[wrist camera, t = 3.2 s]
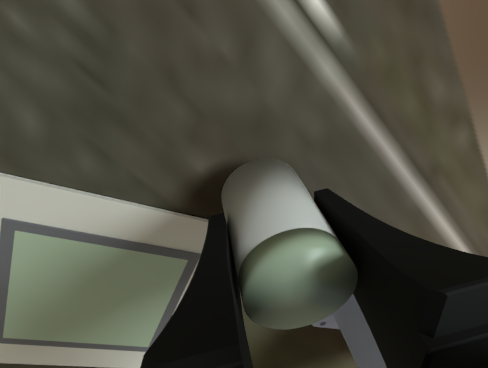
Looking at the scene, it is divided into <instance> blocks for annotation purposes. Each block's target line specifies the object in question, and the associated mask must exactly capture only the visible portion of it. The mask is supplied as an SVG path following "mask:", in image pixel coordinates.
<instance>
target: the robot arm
mask: <svg viewBox="0 0 488 368" xmlns="http://www.w3.org/2000/svg"><path fill="white" fill-rule="evenodd" d="M314 202H315V203H316V205H317V206H318V208H319V209H320V211H321V213H322V214H323V216H324V217H325V219H326V220H327V222H328V224H329V225H330V227H331V228H332V230H333V231H334V233H335V234H336V236H337V238H338V239H339V241H340V242H341V244H342V245H343V247H344V249H345V250H346V252H347V253H348V255H349V256H350V258H351V260H352V261H353V263H354V264H355V266H356V269H357V272H358V281H357V285H356V288H355V290H354V292H353V294H352V295H351V297H350V298H349V299H348V301H347V302H346V303H345V304H344V305H343V306H342V307H341V308H340V309H338V310H337V311H336V312H334V313H333V314H331V315H330V316H328V317H326V318H325V319H323V320H321V321H318V322H316V323H313V324H312V326H314V327H323V328H332V329H340V331H341V333H342V335H343V337H344V339H345V341H346V343H347V345H348V348H349V350H350V352H351V354H352V356H353V358H354V360H355V362H356V364H357V366H358V368H488V257H484V256H479V255H475V254H470V253H466V252H462V251H459V250H455V249H451V248H448V247H445V246H441V245H438V244H435V243H432V242H429V241H427V240H424V239H421V238H418V237H416V236H413V235H410V234H408V233H406V232H403V231H401V230H399V229H397V228H394V227H392V226H390V225H388V224H386V223H384V222H382V221H380V220H378V219H376V218H374V217H373V216H371V215H369V214H367V213H365V212H364V211H362V210H360V209H359V208H357V207H355V206H354V205H352V204H351V203H349V202H348V201H346V200H344V199H343V198H341V197H340V196H338V195H337V194H335V193H334V192H332V191H331V190H329V189H323V190H319V191H315V192H314ZM140 368H253V365H252V360H251V356H250V351H249V346H248V341H247V336H246V332H245V327H244V321H243V315H242V307H241V298H240V289H239V282H238V277H237V272H236V268H235V263H234V258H233V253H232V248H231V241H230V236H229V232H228V227H227V223H226V219H225V215H224V213H222V214H218V215H214V216H210V218H209V219H208V228H207V233H206V238H205V242H204V246H203V249H202V253H201V256H200V259H199V261H198V264H197V267H196V270H195V272H194V275H193V277H192V279H191V281H190V284H189V286H188V288H187V290H186V292H185V294H184V296H183V298H182V299H181V301H180V303H179V305H178V307H177V308H176V310H175V312H174V313H173V315H172V316H171V318H170V319H169V321H168V322H167V324H166V326H165V327H164V329H163V330H162V331H161V333H160V334H159V336H158V337H157V338H156V339H155V341H154V342H153V343H152V345H151V346H150V347H149V349H148V350H147V351H146V353H145V354H144V356H143V359H142V363H141V367H140Z"/></svg>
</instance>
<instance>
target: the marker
mask: <svg viewBox="0 0 488 368" xmlns="http://www.w3.org/2000/svg"><path fill="white" fill-rule="evenodd" d="M221 199H222V205H223V210H224V215H225V219H226V223H227V227H228V232H229V236H230V241H231V248H232V253H233V258H234V263H235V268H236V272H237V277H238V282H239V287H240V291H241V296H242V301H243V306H244V309H245V312H246V314H247V315H248V317H249V318H250V319H251V320H252V321H253V322H255V323H257V324H258V325H261V326H263V327H267V328H271V329H295V328H300V327H304V326H308V325H311V324H313V323H316V322H318V321H321V320H323V319H325V318H326V317H328V316H330V315H331V314H333V313H334V312H336V311H337V310H338V309H340V308H341V307H342V306H343V305H344V304H345V303H346V302H347V301H348V299H349V298H350V297H351V295H352V294H353V292H354V290H355V288H356V285H357V281H358V272H357V269H356V266H355V264H354V263H353V261H352V260H351V258H350V256H349V255H348V253H347V252H346V250H345V249H344V247H343V245H342V244H341V242H340V241H339V239H338V238H337V236H336V234H335V233H334V231H333V230H332V228H331V227H330V225H329V224H328V222H327V220H326V219H325V217H324V216H323V214H322V213H321V211H320V209H319V208H318V206H317V205H316V203H315V202H314V200H313V198H312V197H311V195H310V194H309V192H308V191H307V189H306V187H305V186H304V184H303V183H302V181H301V180H300V178H299V176H298V175H297V173H296V172H295V170H294V169H293V168H292V167H291V166H290V165H288V164H287V163H285V162H283V161H281V160H277V159H272V158H261V159H256V160H252V161H249V162H247V163H245V164H243V165H241V166H240V167H238V168H237V169H236V170H234V171H233V172H232V173H231V174H230V176H229V177H228V178H227V180H226V182H225V183H224V186H223V189H222V194H221Z"/></svg>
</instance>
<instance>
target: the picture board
mask: <svg viewBox="0 0 488 368" xmlns="http://www.w3.org/2000/svg"><path fill="white" fill-rule="evenodd" d="M207 228H208V219H203V218H199V217H195V216H190V215H186V214H181V213H177V212H172V211H168V210H164V209H159V208H155V207H150V206H146V205H141V204H137V203H133V202H128V201H124V200H119V199H115V198H110V197H106V196H102V195H97V194H93V193H88V192H84V191H79V190H75V189H71V188H66V187H62V186H57V185H53V184H48V183H44V182H40V181H35V180H31V179H26V178H22V177H17V176H13V175H9V174H4V173H0V363H9V364H34V365H59V366H85V367H110V368H140V367H141V363H142V359H143V356H144V354H145V353H146V351H147V350H148V349H149V347H150V346H151V345H152V343H153V342H154V341H155V339H156V338H157V337H158V336H159V334H160V333H161V331H162V330H163V329H164V327H165V326H166V324H167V322H168V321H169V319H170V318H171V316H172V315H173V313H174V312H175V310H176V308H177V307H178V305H179V303H180V301H181V299H182V298H183V296H184V294H185V292H186V290H187V288H188V286H189V284H190V281H191V279H192V277H193V275H194V272H195V270H196V267H197V264H198V261H199V259H200V256H201V253H202V249H203V246H204V242H205V238H206V233H207Z"/></svg>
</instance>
